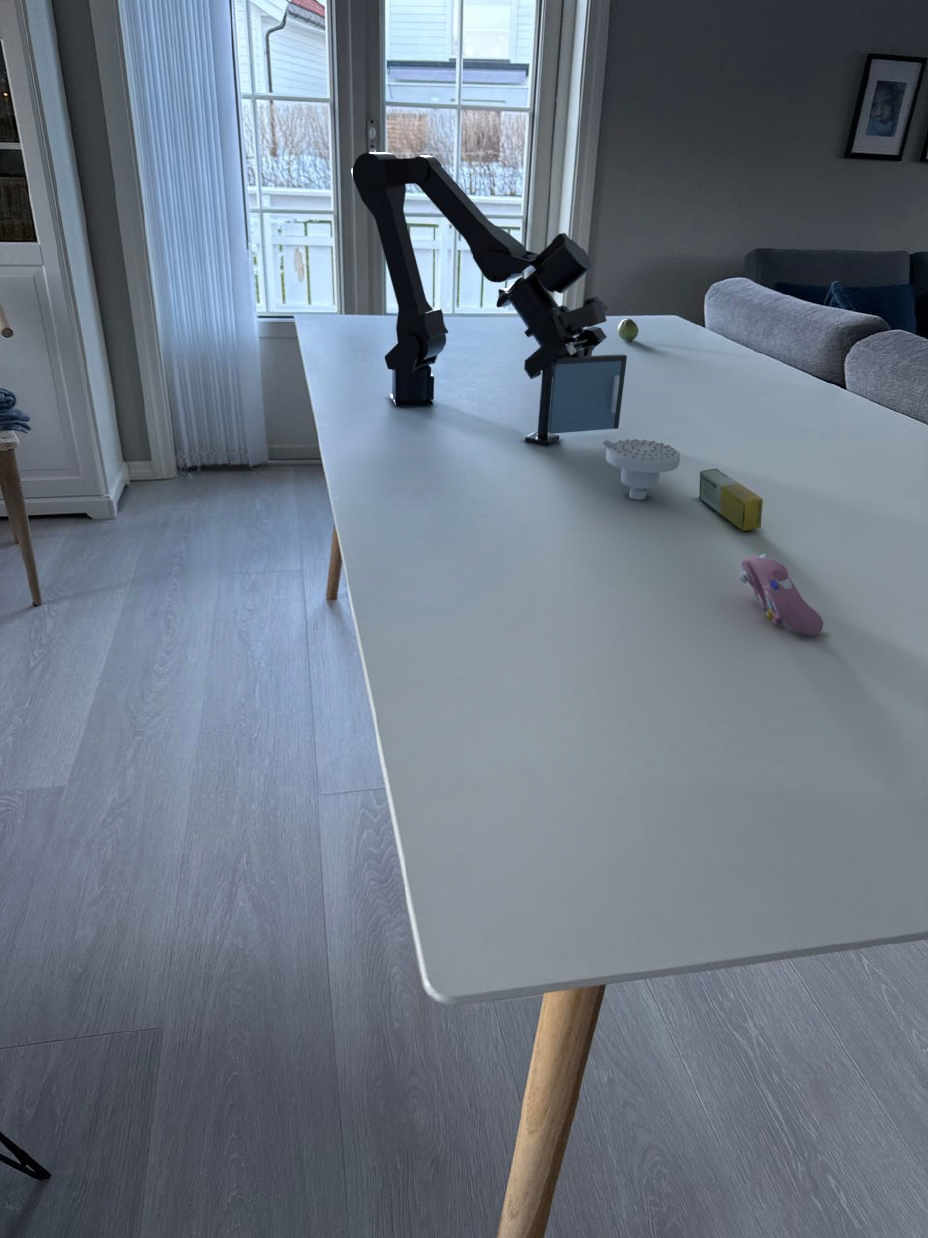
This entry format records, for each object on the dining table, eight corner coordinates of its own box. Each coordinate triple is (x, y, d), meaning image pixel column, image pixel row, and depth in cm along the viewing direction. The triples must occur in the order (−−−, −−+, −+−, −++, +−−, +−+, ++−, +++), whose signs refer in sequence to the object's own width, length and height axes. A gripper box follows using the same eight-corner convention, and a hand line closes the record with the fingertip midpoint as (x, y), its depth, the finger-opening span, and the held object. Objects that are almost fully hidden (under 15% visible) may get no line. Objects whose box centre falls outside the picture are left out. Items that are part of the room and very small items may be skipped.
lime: (616, 338, 215) (618, 316, 213) (636, 339, 215) (639, 317, 212) (616, 341, 211) (619, 319, 209) (637, 342, 211) (640, 320, 208)
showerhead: (605, 429, 120) (681, 436, 119) (599, 481, 124) (673, 488, 122) (600, 450, 112) (682, 458, 111) (594, 505, 116) (673, 513, 114)
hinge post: (524, 441, 139) (530, 356, 133) (536, 435, 142) (542, 351, 136) (548, 446, 137) (555, 359, 131) (559, 440, 140) (566, 355, 134)
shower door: (547, 432, 140) (553, 357, 134) (615, 426, 144) (623, 354, 138) (554, 436, 138) (560, 360, 132) (622, 430, 142) (631, 357, 136)
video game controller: (746, 606, 95) (728, 552, 92) (787, 588, 95) (770, 533, 91) (783, 653, 86) (764, 595, 83) (829, 634, 86) (812, 575, 83)
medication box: (697, 499, 119) (698, 470, 117) (715, 496, 120) (717, 467, 118) (741, 532, 109) (744, 500, 107) (762, 528, 109) (765, 497, 107)
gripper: (550, 285, 127) (612, 377, 128) (602, 273, 142) (657, 355, 142) (498, 333, 135) (556, 420, 135) (552, 317, 149) (605, 396, 149)
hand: (596, 396), depth 140 cm, fingers closed
